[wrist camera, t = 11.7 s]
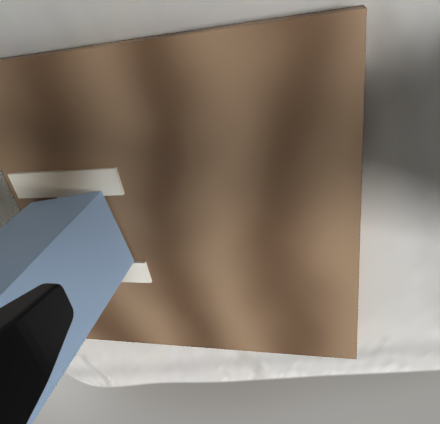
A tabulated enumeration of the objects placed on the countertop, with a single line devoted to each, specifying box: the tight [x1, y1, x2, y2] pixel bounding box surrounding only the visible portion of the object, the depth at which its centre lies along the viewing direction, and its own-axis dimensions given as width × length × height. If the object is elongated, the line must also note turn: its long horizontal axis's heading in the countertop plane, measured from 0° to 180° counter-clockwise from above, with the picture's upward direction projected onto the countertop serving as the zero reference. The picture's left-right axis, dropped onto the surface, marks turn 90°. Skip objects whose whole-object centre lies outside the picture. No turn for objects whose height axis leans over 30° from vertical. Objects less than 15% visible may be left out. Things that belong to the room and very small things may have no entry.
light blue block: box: [0, 191, 134, 424], centre depth 19 cm, size 5×5×13 cm
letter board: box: [0, 5, 367, 359], centre depth 23 cm, size 20×20×1 cm
